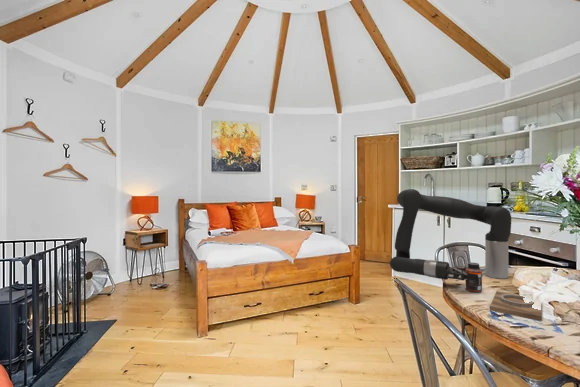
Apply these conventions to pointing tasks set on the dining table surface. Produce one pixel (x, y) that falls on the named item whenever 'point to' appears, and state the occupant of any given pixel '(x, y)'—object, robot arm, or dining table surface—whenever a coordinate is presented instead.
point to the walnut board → (514, 306)
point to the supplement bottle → (472, 284)
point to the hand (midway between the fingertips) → (479, 275)
